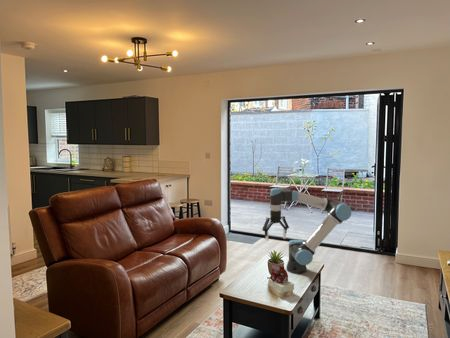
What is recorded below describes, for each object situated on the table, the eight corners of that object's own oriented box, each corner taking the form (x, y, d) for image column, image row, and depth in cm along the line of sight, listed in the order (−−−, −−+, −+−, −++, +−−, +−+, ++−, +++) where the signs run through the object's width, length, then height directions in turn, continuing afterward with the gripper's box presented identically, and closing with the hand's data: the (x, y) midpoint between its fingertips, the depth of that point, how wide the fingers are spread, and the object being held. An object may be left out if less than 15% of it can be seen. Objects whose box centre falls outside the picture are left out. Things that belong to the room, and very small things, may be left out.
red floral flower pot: (284, 285, 223) (284, 269, 222) (268, 280, 231) (268, 264, 230) (290, 281, 228) (290, 266, 227) (274, 276, 236) (274, 261, 235)
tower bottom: (281, 287, 238) (281, 281, 238) (292, 295, 226) (292, 289, 225) (268, 289, 235) (268, 284, 234) (279, 298, 222) (279, 292, 221)
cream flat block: (280, 281, 238) (280, 276, 237) (293, 289, 225) (293, 283, 225) (268, 284, 233) (268, 279, 233) (281, 293, 221) (281, 287, 220)
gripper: (288, 207, 255) (288, 235, 257) (257, 210, 247) (257, 239, 249) (293, 209, 248) (293, 238, 250) (262, 212, 240) (262, 242, 242)
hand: (275, 239), depth 249 cm, fingers open, 13 cm apart
